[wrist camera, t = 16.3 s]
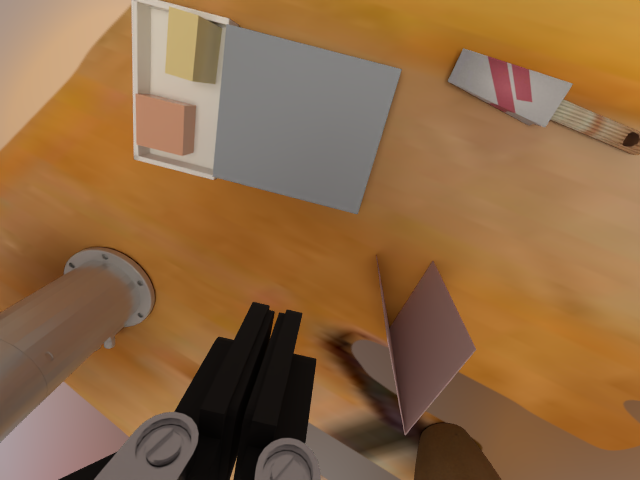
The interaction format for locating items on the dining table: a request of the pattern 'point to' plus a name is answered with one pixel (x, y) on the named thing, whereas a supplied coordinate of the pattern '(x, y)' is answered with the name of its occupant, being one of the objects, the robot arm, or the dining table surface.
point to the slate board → (300, 118)
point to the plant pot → (451, 456)
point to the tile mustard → (192, 47)
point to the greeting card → (425, 345)
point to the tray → (174, 86)
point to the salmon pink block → (165, 124)
